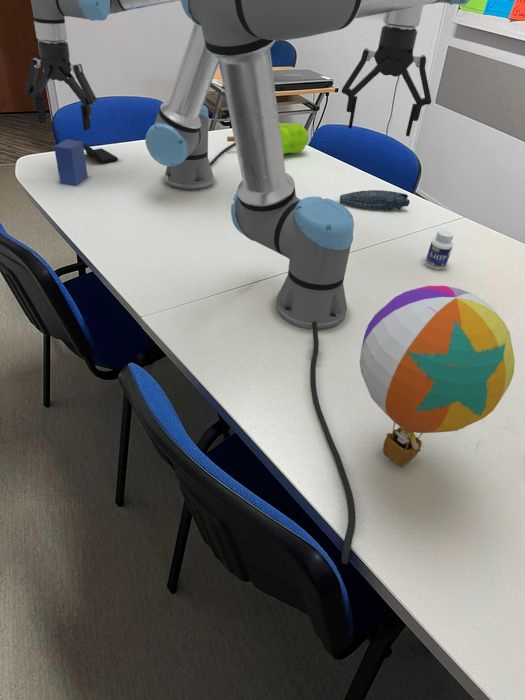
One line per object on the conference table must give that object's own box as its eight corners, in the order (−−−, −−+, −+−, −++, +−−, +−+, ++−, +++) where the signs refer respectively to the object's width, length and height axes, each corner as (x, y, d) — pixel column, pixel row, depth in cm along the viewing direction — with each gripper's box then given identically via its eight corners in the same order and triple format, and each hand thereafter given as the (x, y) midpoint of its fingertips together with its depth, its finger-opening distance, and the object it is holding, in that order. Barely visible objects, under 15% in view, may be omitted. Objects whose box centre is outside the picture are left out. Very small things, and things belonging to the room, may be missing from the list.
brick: (87, 177, 161) (82, 141, 155) (76, 185, 156) (70, 148, 149) (72, 174, 162) (66, 138, 155) (60, 183, 156) (53, 146, 149)
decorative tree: (224, 117, 189) (303, 117, 195) (224, 146, 196) (301, 145, 201) (231, 131, 176) (316, 130, 181) (230, 162, 182) (313, 160, 188)
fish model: (408, 214, 157) (412, 198, 153) (339, 207, 158) (341, 191, 154) (406, 206, 162) (410, 190, 159) (339, 199, 163) (341, 183, 160)
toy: (310, 447, 82) (343, 285, 63) (387, 396, 93) (435, 245, 74) (411, 535, 71) (486, 371, 52) (485, 466, 82) (569, 309, 63)
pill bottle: (423, 266, 132) (433, 234, 126) (426, 257, 136) (435, 226, 130) (444, 271, 131) (455, 239, 125) (446, 262, 135) (457, 230, 129)
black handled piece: (122, 153, 174) (102, 132, 166) (111, 171, 173) (90, 150, 165) (101, 149, 181) (81, 128, 172) (90, 166, 179) (69, 146, 171)
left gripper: (103, 44, 137) (111, 128, 150) (16, 32, 140) (32, 116, 153) (90, 49, 131) (100, 135, 145) (0, 36, 134) (17, 122, 147)
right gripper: (458, 31, 111) (431, 133, 125) (343, 18, 114) (328, 119, 127) (461, 35, 106) (432, 142, 119) (340, 21, 108) (325, 127, 122)
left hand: (65, 125), depth 149 cm, fingers open, 13 cm apart
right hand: (378, 131), depth 123 cm, fingers open, 13 cm apart
